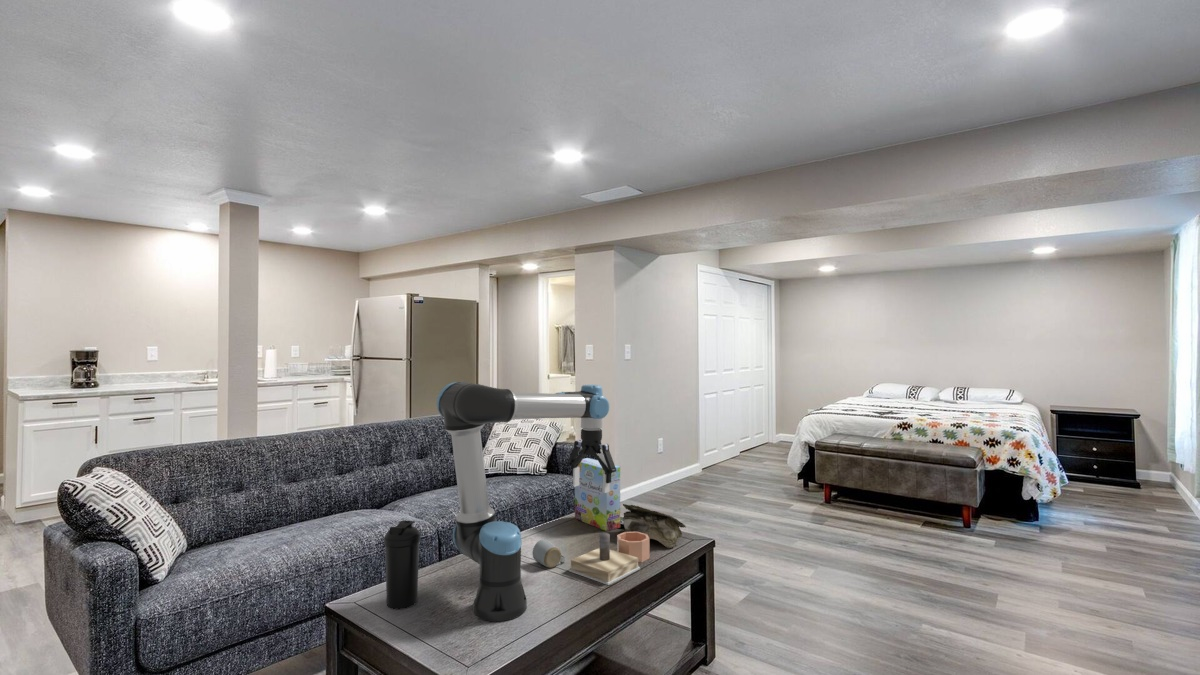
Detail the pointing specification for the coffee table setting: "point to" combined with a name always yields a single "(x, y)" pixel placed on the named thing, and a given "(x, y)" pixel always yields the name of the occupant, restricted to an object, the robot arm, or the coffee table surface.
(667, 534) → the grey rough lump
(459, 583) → the coffee table surface
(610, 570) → the lid
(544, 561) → the ceramic mug
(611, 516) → the snack box
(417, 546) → the water bottle
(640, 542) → the bowl
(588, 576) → the mat
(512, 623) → the coffee table surface
